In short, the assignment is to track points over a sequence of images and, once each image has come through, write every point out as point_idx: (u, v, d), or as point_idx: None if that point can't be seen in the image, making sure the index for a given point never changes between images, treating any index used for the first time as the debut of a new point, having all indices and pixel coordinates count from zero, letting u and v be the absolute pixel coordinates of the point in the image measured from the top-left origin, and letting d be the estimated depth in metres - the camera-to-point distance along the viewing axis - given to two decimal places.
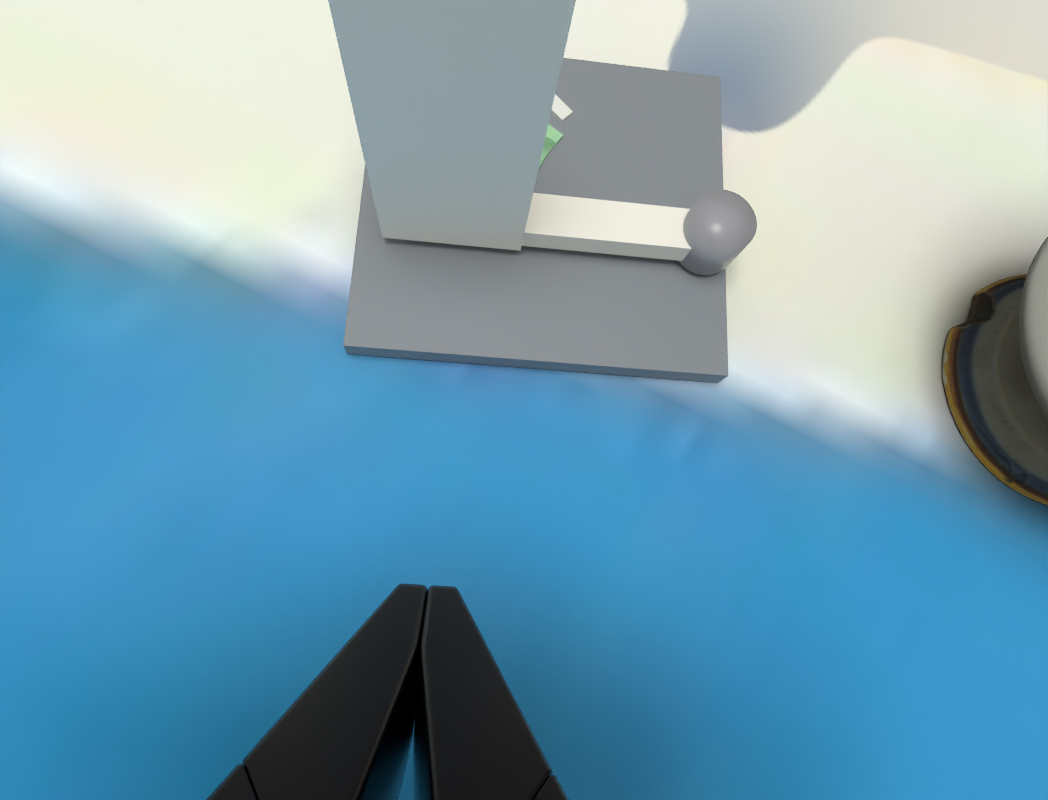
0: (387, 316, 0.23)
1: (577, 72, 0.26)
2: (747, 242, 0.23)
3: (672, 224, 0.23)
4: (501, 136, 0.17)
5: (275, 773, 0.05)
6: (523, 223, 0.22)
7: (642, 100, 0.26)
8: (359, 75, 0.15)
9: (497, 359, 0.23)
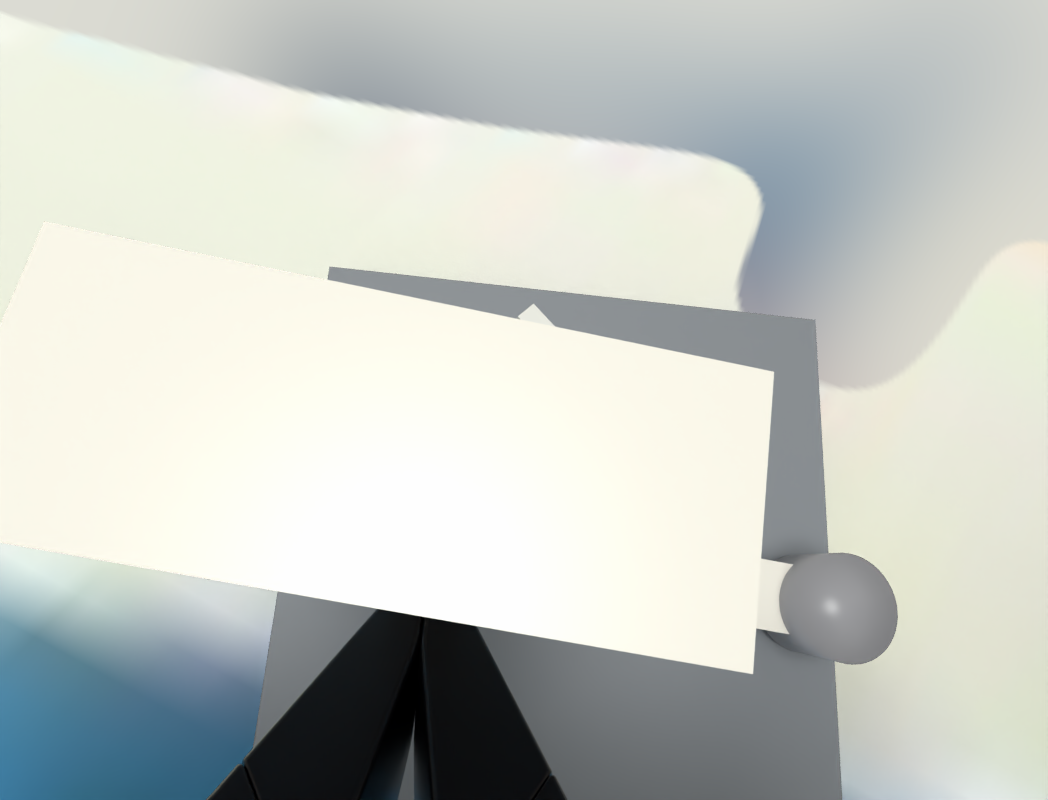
0: None
1: (613, 317, 0.18)
2: (881, 649, 0.14)
3: (763, 588, 0.15)
4: None
5: (275, 773, 0.05)
6: None
7: None
8: None
9: None
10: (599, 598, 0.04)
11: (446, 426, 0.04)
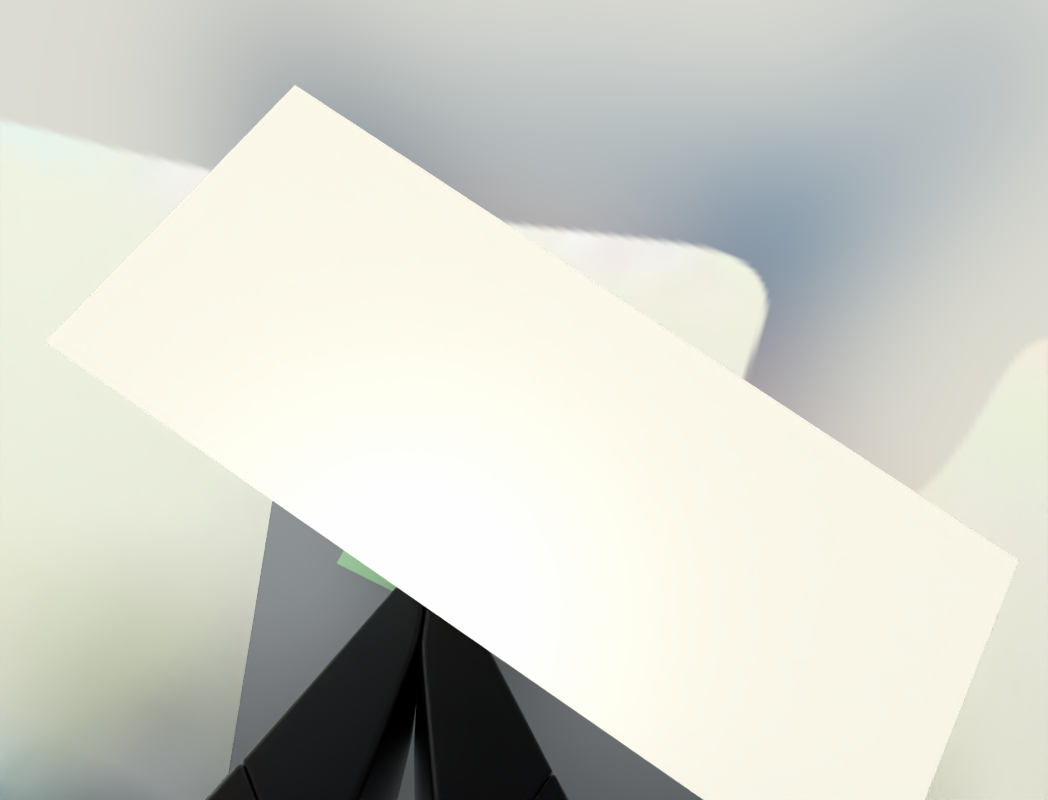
0: None
1: None
2: None
3: None
4: None
5: (274, 773, 0.05)
6: None
7: None
8: None
9: None
10: (725, 742, 0.03)
11: (621, 464, 0.03)
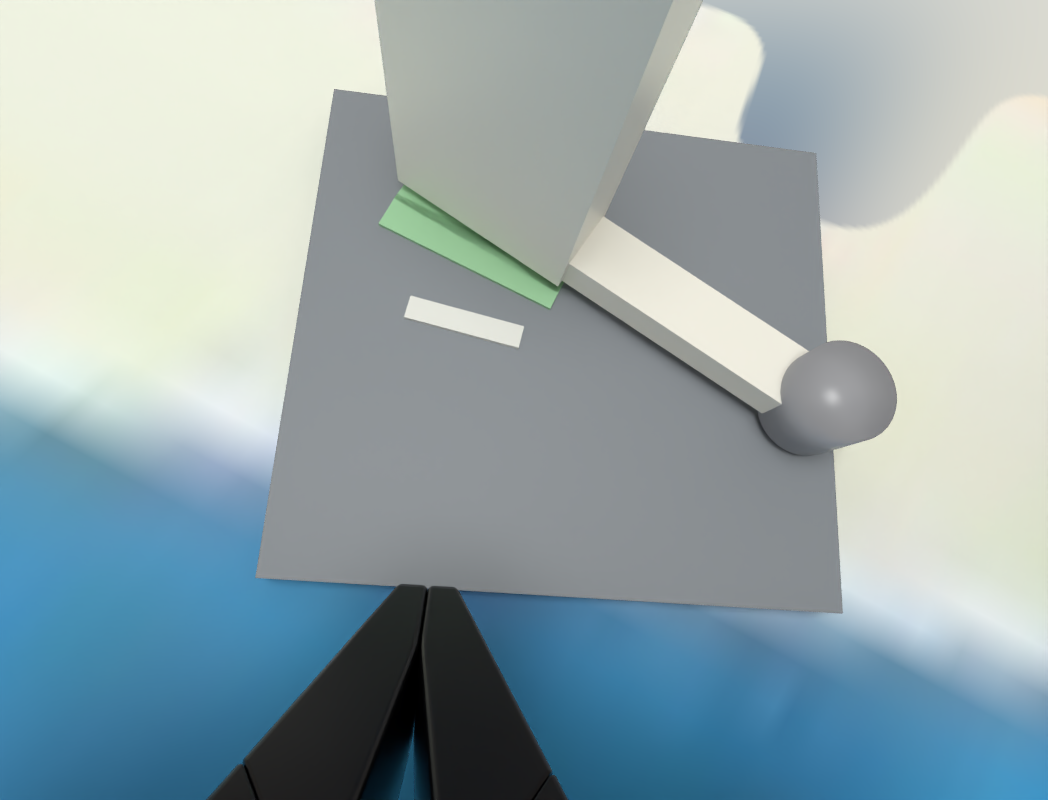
0: (326, 527, 0.15)
1: None
2: (864, 438, 0.15)
3: (773, 357, 0.16)
4: (564, 81, 0.10)
5: (275, 773, 0.05)
6: (568, 248, 0.15)
7: (708, 186, 0.18)
8: None
9: (495, 591, 0.15)
10: None
11: None
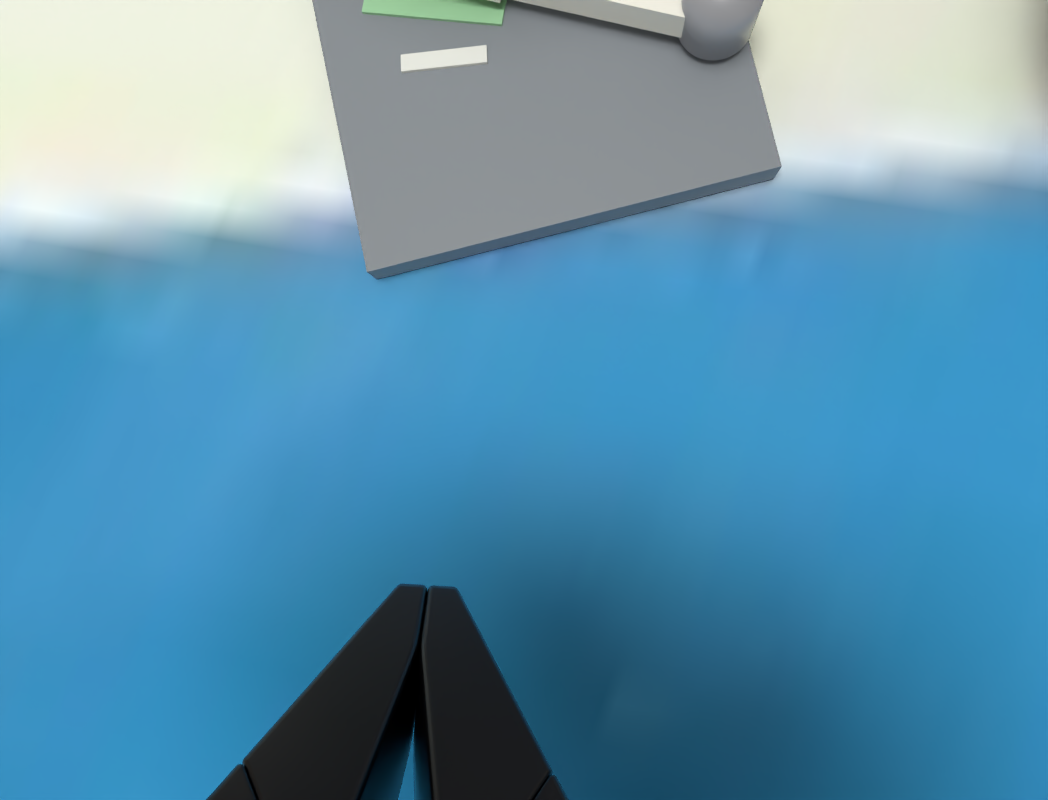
0: (399, 228, 0.22)
1: None
2: (747, 11, 0.19)
3: None
4: None
5: (275, 773, 0.05)
6: None
7: None
8: None
9: (522, 234, 0.22)
10: None
11: None
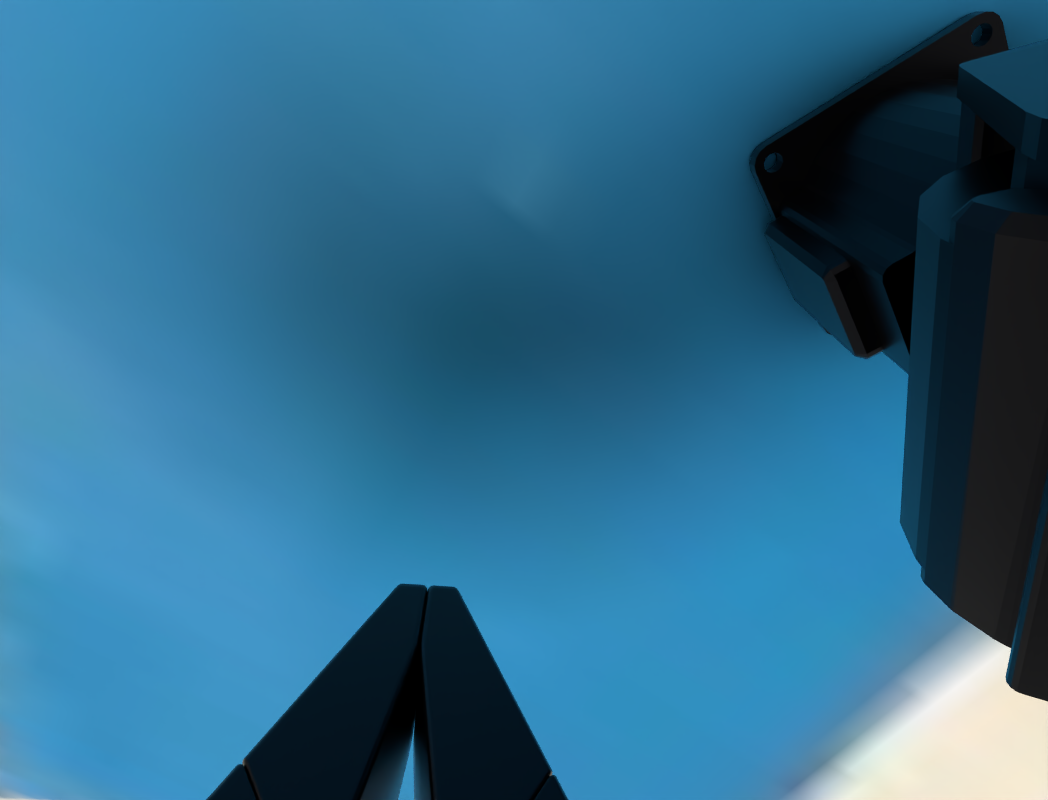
0: None
1: None
2: None
3: None
4: None
5: (275, 773, 0.05)
6: None
7: None
8: None
9: None
10: None
11: None
